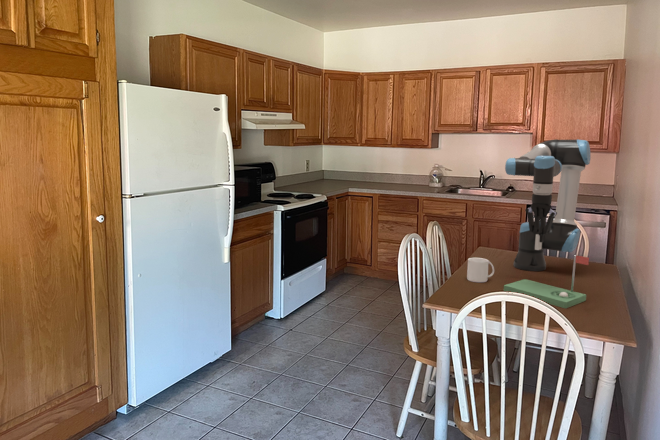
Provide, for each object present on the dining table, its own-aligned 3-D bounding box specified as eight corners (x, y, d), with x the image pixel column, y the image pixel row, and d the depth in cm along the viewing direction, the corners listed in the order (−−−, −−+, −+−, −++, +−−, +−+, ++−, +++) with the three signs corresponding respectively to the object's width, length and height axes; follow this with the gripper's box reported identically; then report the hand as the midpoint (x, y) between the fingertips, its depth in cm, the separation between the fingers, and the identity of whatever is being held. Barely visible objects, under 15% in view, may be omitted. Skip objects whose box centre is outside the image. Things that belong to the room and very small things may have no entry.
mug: (467, 282, 224) (469, 261, 222) (465, 276, 232) (467, 257, 231) (495, 283, 222) (497, 263, 220) (492, 277, 230) (493, 258, 229)
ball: (563, 288, 200) (569, 293, 197) (564, 294, 202) (571, 299, 199) (556, 293, 199) (562, 297, 196) (557, 299, 201) (564, 303, 198)
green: (503, 290, 211) (503, 285, 210) (524, 284, 220) (524, 279, 220) (565, 308, 190) (566, 302, 189) (585, 300, 199) (586, 294, 199)
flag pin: (569, 297, 203) (573, 254, 200) (570, 296, 204) (574, 254, 201) (584, 301, 199) (588, 257, 196) (585, 300, 199) (589, 257, 196)
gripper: (522, 192, 207) (518, 247, 211) (552, 196, 197) (548, 253, 201) (532, 191, 211) (528, 245, 216) (562, 194, 201) (557, 250, 206)
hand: (538, 249), depth 208 cm, fingers closed
